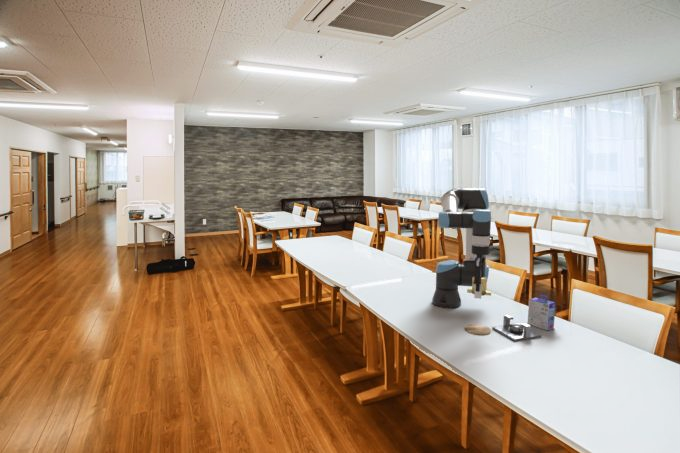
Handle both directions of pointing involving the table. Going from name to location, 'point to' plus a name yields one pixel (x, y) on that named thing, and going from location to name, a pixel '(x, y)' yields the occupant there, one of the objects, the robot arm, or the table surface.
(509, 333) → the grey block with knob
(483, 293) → the bell
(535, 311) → the ink cartridge box
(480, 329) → the coaster
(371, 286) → the table surface
